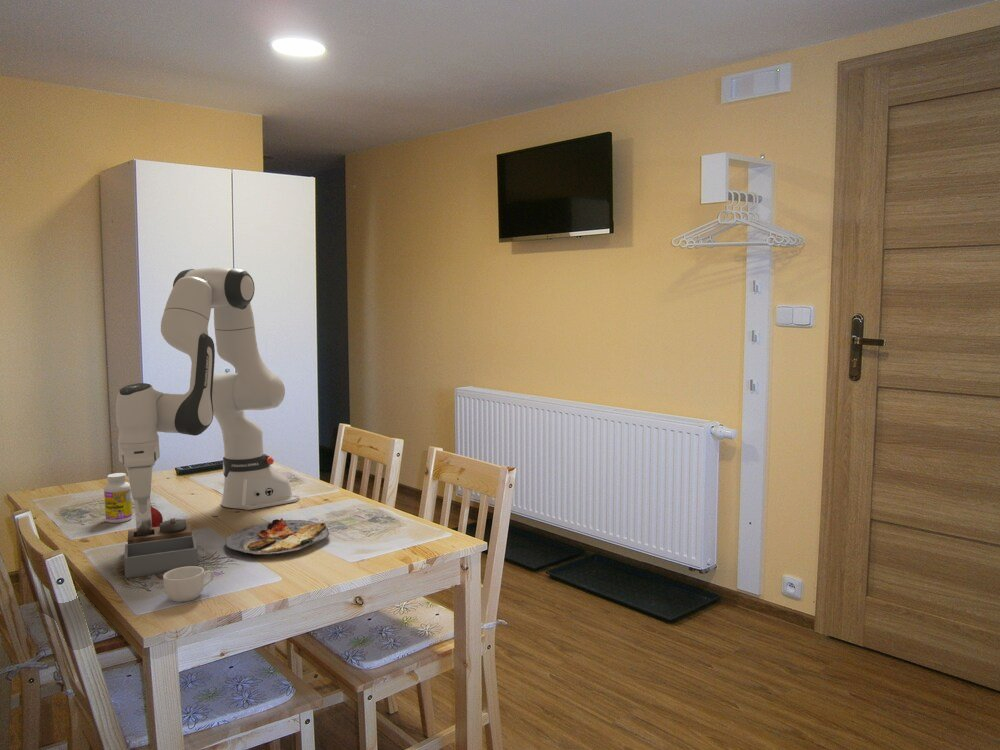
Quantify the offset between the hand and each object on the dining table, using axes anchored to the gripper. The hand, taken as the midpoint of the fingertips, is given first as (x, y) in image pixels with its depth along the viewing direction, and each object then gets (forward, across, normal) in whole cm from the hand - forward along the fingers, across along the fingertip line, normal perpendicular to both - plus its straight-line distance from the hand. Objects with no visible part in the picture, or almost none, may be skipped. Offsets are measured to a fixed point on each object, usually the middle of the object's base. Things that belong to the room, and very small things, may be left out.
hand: (143, 508), depth 182 cm
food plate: (+12, +6, +30) cm, 33 cm away
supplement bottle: (+12, -33, -7) cm, 35 cm away
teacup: (+11, +33, +8) cm, 36 cm away
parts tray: (+11, +11, +3) cm, 16 cm away
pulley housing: (+11, 0, +3) cm, 11 cm away
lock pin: (+8, 0, 0) cm, 8 cm away
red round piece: (+11, -15, +1) cm, 19 cm away
